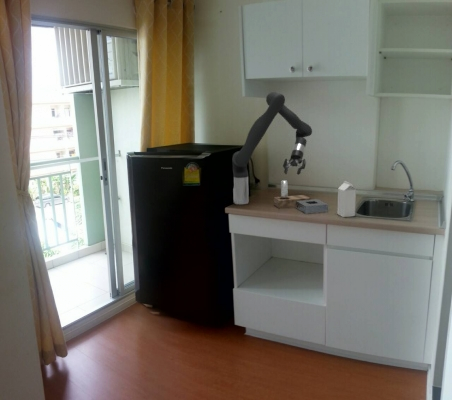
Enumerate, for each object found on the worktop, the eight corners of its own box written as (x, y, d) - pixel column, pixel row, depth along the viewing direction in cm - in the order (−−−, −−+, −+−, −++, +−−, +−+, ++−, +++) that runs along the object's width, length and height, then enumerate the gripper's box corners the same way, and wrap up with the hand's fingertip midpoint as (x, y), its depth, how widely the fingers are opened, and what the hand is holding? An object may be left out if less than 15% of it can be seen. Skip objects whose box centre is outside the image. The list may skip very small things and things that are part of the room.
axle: (282, 207, 253) (282, 181, 249) (280, 205, 257) (280, 180, 253) (288, 206, 254) (288, 181, 250) (286, 205, 258) (286, 179, 254)
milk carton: (343, 217, 227) (344, 183, 222) (337, 214, 233) (338, 181, 229) (354, 216, 228) (356, 182, 224) (348, 213, 235) (350, 180, 231)
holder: (305, 213, 236) (305, 206, 235) (296, 208, 250) (296, 200, 249) (328, 211, 239) (328, 204, 238) (317, 206, 252) (317, 199, 251)
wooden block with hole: (279, 208, 249) (279, 200, 248) (274, 204, 259) (273, 197, 258) (310, 206, 253) (310, 198, 252) (303, 202, 263) (303, 194, 262)
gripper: (285, 149, 267) (279, 170, 261) (306, 149, 259) (300, 170, 253) (289, 155, 273) (283, 176, 267) (310, 155, 265) (304, 177, 259)
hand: (291, 173), depth 260 cm, fingers open, 8 cm apart
